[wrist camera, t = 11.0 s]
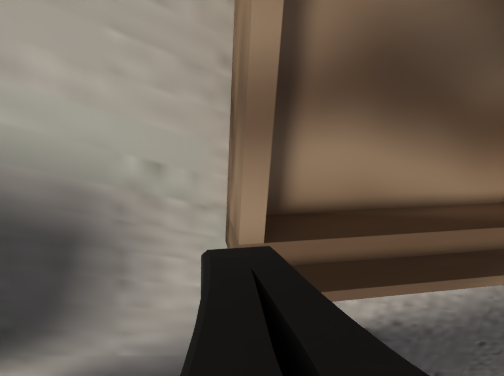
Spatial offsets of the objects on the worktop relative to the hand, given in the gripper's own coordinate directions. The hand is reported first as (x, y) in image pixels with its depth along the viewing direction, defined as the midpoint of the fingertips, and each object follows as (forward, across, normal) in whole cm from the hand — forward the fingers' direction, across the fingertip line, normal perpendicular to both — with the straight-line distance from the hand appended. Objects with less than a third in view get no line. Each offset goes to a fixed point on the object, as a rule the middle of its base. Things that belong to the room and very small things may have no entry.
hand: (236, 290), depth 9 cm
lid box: (+10, -9, -1) cm, 14 cm away
